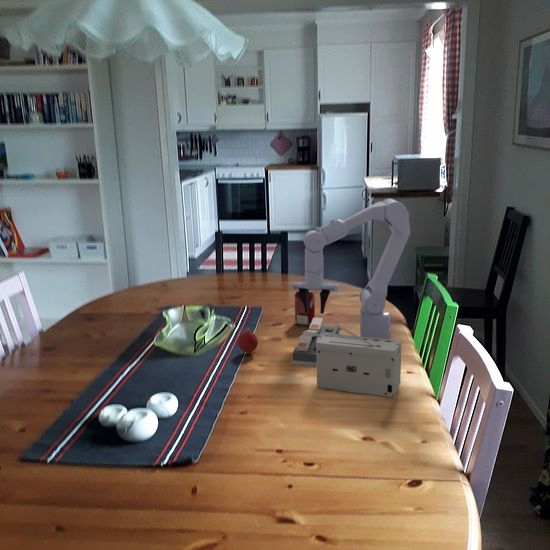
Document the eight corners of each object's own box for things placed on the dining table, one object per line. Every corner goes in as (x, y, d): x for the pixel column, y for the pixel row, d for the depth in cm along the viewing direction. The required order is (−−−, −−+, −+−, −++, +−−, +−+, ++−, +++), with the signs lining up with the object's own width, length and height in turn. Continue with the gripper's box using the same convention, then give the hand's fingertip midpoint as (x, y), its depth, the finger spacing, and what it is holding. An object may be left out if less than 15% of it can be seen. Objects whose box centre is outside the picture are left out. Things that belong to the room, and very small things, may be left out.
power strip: (339, 333, 181) (339, 322, 181) (322, 367, 156) (321, 355, 155) (312, 331, 184) (312, 321, 183) (291, 364, 159) (290, 352, 158)
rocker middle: (317, 334, 172) (317, 330, 172) (313, 336, 166) (313, 332, 166) (307, 334, 173) (307, 329, 173) (302, 335, 167) (303, 331, 167)
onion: (235, 355, 166) (234, 330, 164) (245, 349, 171) (244, 324, 169) (252, 359, 164) (251, 333, 162) (261, 352, 169) (260, 327, 166)
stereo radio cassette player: (400, 386, 144) (402, 312, 139) (396, 401, 136) (398, 323, 131) (322, 376, 151) (321, 306, 146) (313, 390, 143) (312, 316, 138)
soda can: (307, 328, 188) (307, 293, 185) (291, 324, 192) (290, 290, 189) (318, 322, 193) (318, 289, 190) (302, 318, 197) (301, 286, 194)
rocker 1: (311, 339, 165) (311, 335, 164) (307, 351, 160) (306, 347, 159) (301, 338, 165) (301, 334, 165) (296, 350, 161) (296, 346, 160)
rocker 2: (323, 321, 179) (323, 318, 179) (319, 332, 174) (319, 328, 174) (313, 320, 180) (313, 317, 180) (309, 331, 175) (309, 327, 175)
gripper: (340, 267, 172) (340, 309, 176) (294, 266, 176) (295, 306, 180) (335, 273, 166) (335, 316, 169) (288, 271, 170) (289, 313, 173)
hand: (314, 312), depth 174 cm, fingers open, 4 cm apart
